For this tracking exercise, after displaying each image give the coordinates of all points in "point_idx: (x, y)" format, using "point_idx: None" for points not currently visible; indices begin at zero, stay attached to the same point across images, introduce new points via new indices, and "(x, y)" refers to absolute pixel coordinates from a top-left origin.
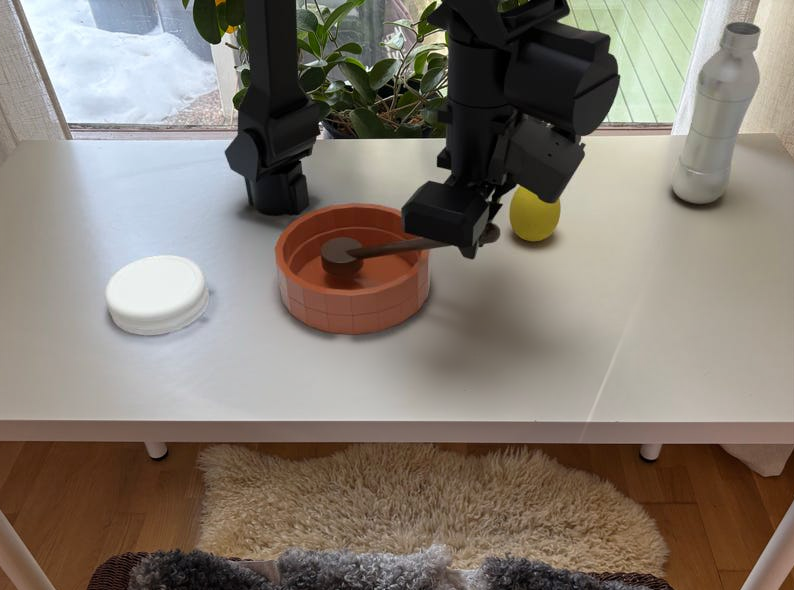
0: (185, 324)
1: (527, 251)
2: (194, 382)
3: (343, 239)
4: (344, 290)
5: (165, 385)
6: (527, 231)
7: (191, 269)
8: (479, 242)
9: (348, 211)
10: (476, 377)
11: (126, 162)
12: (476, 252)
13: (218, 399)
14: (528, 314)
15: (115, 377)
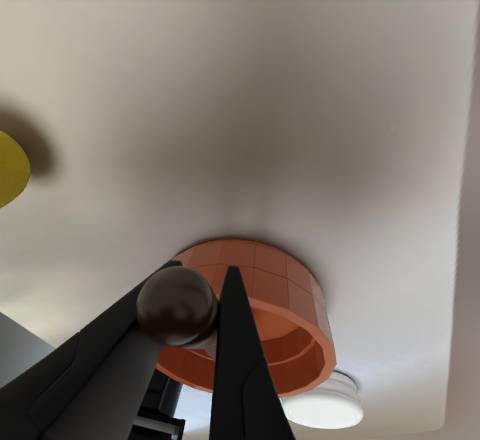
0: (340, 379)
1: (43, 146)
2: (401, 357)
3: (210, 353)
4: (325, 352)
5: (406, 368)
6: (11, 163)
7: (296, 405)
8: (223, 305)
9: (168, 364)
10: (360, 126)
11: (182, 417)
12: (230, 277)
13: (424, 342)
14: (177, 91)
15: (399, 387)
